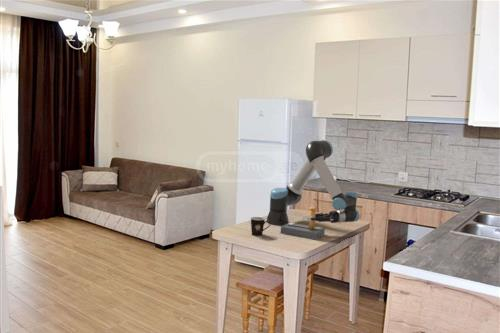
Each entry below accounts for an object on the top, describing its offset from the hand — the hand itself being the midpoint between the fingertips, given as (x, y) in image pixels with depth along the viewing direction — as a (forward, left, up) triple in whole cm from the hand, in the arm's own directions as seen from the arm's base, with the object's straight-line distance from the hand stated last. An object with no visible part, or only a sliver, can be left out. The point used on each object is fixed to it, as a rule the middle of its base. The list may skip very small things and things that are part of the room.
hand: (304, 218), depth 272 cm
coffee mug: (-23, -15, -11) cm, 30 cm away
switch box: (-2, +4, -11) cm, 12 cm away
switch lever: (+4, +4, -11) cm, 12 cm away
